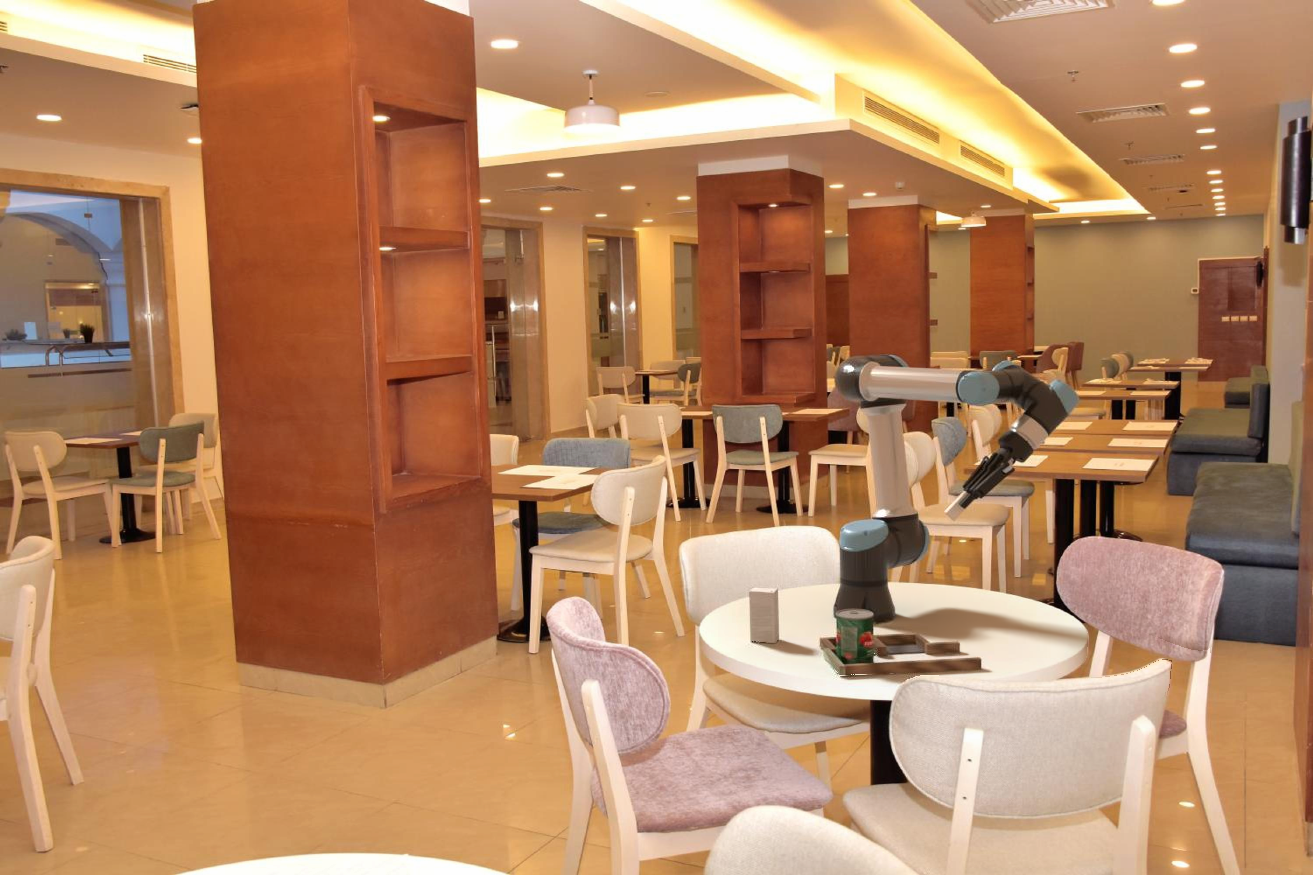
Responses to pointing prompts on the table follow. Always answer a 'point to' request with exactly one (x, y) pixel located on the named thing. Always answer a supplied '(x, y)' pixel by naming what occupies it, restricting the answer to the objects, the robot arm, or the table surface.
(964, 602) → the table surface
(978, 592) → the table surface
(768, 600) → the skincare box
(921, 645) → the wooden rail frame
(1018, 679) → the table surface
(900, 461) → the robot arm
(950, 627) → the table surface
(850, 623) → the canned tomato
